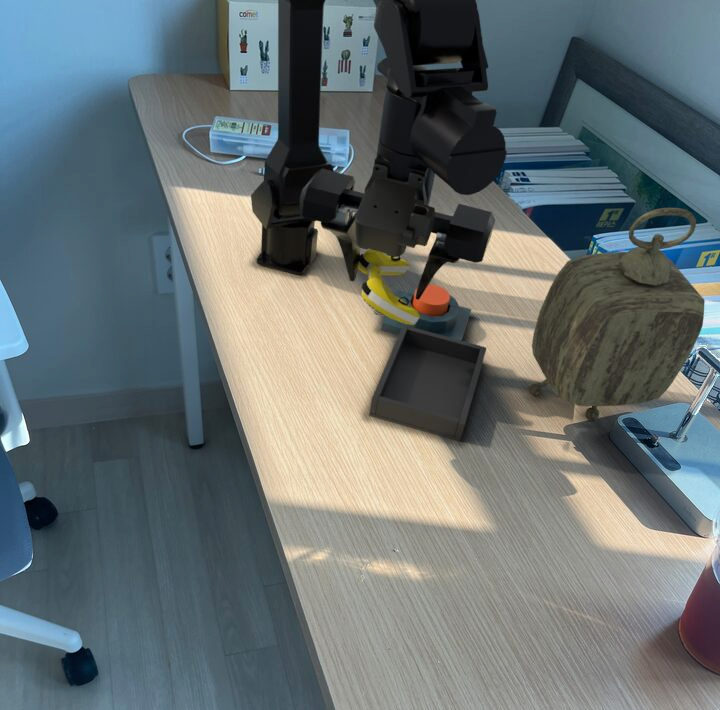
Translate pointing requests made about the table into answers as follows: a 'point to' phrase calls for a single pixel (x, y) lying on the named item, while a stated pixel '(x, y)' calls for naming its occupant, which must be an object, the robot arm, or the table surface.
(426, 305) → the button
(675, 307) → the tabletop clock
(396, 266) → the yellow curved piece
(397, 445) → the table surface
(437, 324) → the dock switch
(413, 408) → the tray
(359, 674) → the table surface
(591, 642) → the table surface
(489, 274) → the table surface
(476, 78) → the robot arm
